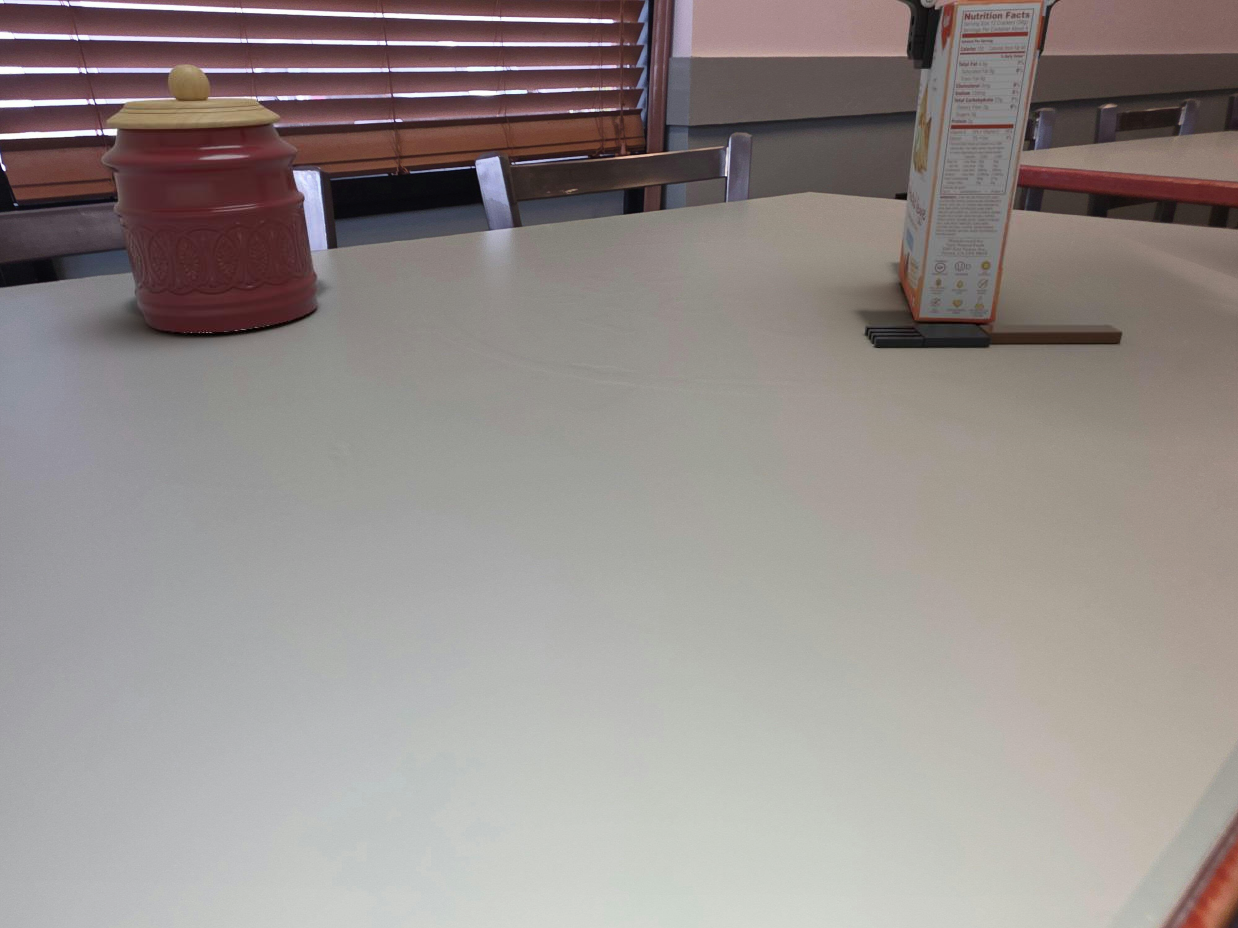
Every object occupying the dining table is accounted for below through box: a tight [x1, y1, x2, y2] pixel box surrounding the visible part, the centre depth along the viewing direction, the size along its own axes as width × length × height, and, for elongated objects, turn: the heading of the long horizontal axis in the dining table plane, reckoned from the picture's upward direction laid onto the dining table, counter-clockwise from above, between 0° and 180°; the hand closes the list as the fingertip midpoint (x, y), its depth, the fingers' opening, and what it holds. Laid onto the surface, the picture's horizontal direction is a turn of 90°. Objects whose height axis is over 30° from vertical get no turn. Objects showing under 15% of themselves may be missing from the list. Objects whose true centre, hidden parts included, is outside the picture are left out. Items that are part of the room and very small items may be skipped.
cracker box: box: [898, 0, 1047, 324], centre depth 64 cm, size 14×6×21 cm, turn 168°
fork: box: [864, 323, 1123, 348], centre depth 59 cm, size 17×3×1 cm, turn 89°
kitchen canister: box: [101, 63, 320, 334], centre depth 64 cm, size 13×13×18 cm
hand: (972, 67), depth 61 cm, fingers closed on cracker box, 6 cm apart
